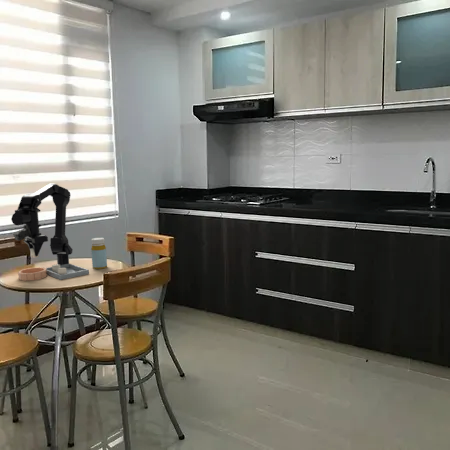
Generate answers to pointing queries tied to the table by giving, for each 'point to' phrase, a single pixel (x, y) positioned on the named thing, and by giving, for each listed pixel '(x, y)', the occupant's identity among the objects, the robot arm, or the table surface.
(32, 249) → the pebble
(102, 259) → the bottle
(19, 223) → the robot arm
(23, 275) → the bowl
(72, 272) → the tray
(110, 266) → the table surface
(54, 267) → the pebble
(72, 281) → the table surface
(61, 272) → the pebble
